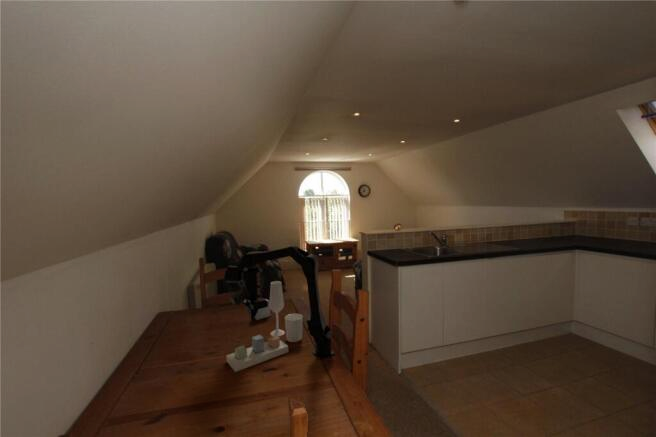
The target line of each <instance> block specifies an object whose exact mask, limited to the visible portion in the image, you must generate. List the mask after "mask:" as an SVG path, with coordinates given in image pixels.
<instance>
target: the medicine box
mask: <svg viewBox="0 0 656 437" xmlns="http://www.w3.org/2000/svg"><path fill="white" fill-rule="evenodd" d="M264 299H265V300H266V301H268V307H265V308H261V309H258V312H257V314H256V316H255V318H254V320H256V321H259V320H262V319H265V318H269V317H271V309H270V307H269V304H270V299H267V298H264Z"/></svg>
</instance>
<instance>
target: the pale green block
mask: <svg viewBox="0 0 656 437" xmlns="http://www.w3.org/2000/svg"><path fill="white" fill-rule="evenodd" d="M234 353H235V358H236V359H237V360H241V359H243V358H246V357H247V348H246V347H245V345H241V346H237V347H235V348H234Z"/></svg>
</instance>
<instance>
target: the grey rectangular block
mask: <svg viewBox="0 0 656 437" xmlns="http://www.w3.org/2000/svg"><path fill="white" fill-rule="evenodd" d="M264 343H265V340H264V337H263V335H261V334H257V335H255V336H252V337H251V347H252V350H253V351H254V352H256V353H257V352H260V351H263V350H264Z"/></svg>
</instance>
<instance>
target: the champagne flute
mask: <svg viewBox="0 0 656 437" xmlns="http://www.w3.org/2000/svg"><path fill="white" fill-rule="evenodd" d="M269 290H270V291H269V292H270V293H269V301H270V304H269V307H270V311H272V312H273V313H274V314H275V329H274V330H273V331H271V332H270V336H274V335H276V336H278V337H281V336H283V335H285V334H286V331H284V330H282V329H280V328H279V313H281V311H282V310H283V309H284V307H285V302H284V295H283V286H282V281H280V280H275V281H271V282H270V289H269Z"/></svg>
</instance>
